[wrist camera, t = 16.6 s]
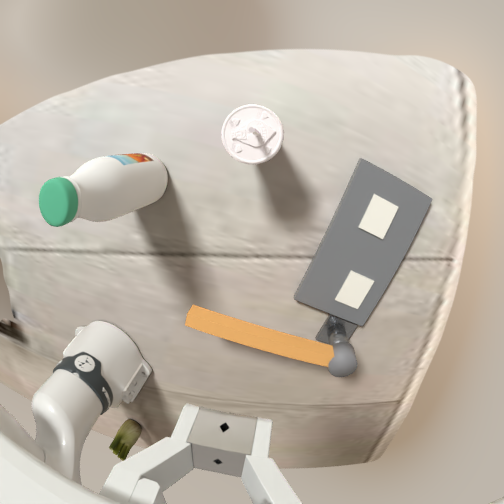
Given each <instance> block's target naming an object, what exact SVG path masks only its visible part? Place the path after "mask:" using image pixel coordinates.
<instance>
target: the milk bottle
mask: <svg viewBox="0 0 504 504" xmlns="http://www.w3.org/2000/svg"><path fill="white" fill-rule="evenodd" d="M167 181H168V177H167V171H166V168H165V166H164V164H163V163H162V161H161V160H160V159H159V158H158V157H156V156H154V155H152V154H148V153H137V154H122V155H111V156H104V157H98V158H95V159H92V160H90V161H88V162H86V163H85V164H83V165H82V166H81V167H80V168H79V169H78V170H77V171H76V172H75V173H74V174H73V175H71V176H70V177H68V176H62V177H57V178H53V179H50V180H48V181H47V182H45V183H44V185H43V186H42V188H41V191H40V195H39V207H40V211H41V214H42V216H43V218H44V219H45V221H46V222H47V223H48V224H50V225H51V226H55V227H59V226H62V225H65V224H67V223H69V222H72V221H74V220H75V219H76V218H83V219H86V220H89V221H95V222H103V221H108V220H112V219H115V218H118V217H120V216H123V215H125V214H128V213H130V212H133V211H135V210H137V209H140V208H142V207H145V206H147V205H149V204H152V203H154V202H156V201H157V200H158V199H160V198H161V196H162V195H163V194H164V192H165V190H166V187H167Z"/></svg>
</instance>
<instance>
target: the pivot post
mask: <svg viewBox="0 0 504 504" xmlns="http://www.w3.org/2000/svg"><path fill="white" fill-rule="evenodd" d="M356 327H357V324H355V323H353V322H350V321H347V320H345V319H342V318H340V317H337V316H335V315H332V314H330V315H329V316H328V318H327V319H326V321H325V323H324V324H323V326H322V328H321V329H320V331H319V332H318V334H317V336H316V337H315V338H316V340H319V341H322V342H324V343H327V344H329V345H333V344H335V343H337V342H347V343H349V342H348V339H349V338H350V336H351V335H352V333H353V332H354V330H355V329H356Z"/></svg>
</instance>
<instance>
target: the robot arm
mask: <svg viewBox="0 0 504 504" xmlns="http://www.w3.org/2000/svg"><path fill="white" fill-rule="evenodd" d="M75 334H76V337H75V338H74V339H73V340H72V342H71V343H70V344H69V345H68V346H67V348H66V349H65V350H64V352H63V355H64V358H63V359H62V361H60V362H59V363H58V364H57V366H56V367H55V368H54V370H53V374H52V375H51V376H50V377H49V378H48V379H47V380H46V381H45V383H44V384H43V385H42V386H41V387H40V388H39V389H38V390H37V391H36V393H35V394H34V396H33V399H32V412H33V416H34V419H35V422H36V439H35V440H33V438H32V437H31V436H30V435H29V434H28V433H27V432H26V431H25V429H24V428H23V427H22V426H21V425H20V424H19V422H18V421H17V420H16V419H15V418H14V417H13V416H12V415H11V414H10V413H9V412H8V411H7V410H6V409H5V408H4V407H3V406H2V405H1V404H0V504H167V503H166V501H165V498H164V496H163V494H162V492H163V491H165V490H166V489H167V488H169V487H170V486H172V485H173V484H174V483H176V482H177V481H178V480H180V479H181V478H182V477H184V476H185V475H186V474H187V473H189V472H190V471H191V470H193V468H198V469H202V470H208V471H213V472H218V473H222V474H227V475H232V476H237V477H241V479H242V481H243V484H244V486H245V488H246V490H247V492H248V494H249V496H250V498H251V500H252V502H253V504H302V503H301V501H300V500H299V498H298V497H297V495H296V494H295V492H294V491H293V489H292V488H291V486H290V485H289V483H288V482H287V480H286V479H285V477H284V476H283V474H282V473H281V471H280V469H279V468H278V466H277V465H276V463H275V461H274V460H273V459H272V458H268V457H269V449H270V440H271V432H272V423H273V422H272V419H264V418H257V417H253V416H246V415H240V414H234V413H226V412H221V411H217V410H212V409H208V408H204V407H200V406H196V405H192V404H188V403H186V405H185V406H184V408H183V410H182V412H181V415H180V417H179V419H178V422H177V424H176V426H175V429H174V431H173V433H172V436H171V438H170V437H165V438H164V439H162V440H160V441H158V442H157V443H155V444H153V445H151V446H150V447H148V448H146V449H144V450H142V451H141V452H139V453H137V454H135V455H133V456H131V457H129V458H128V459H126V460H124V461H122V462H120V463H118V464H116V465H115V466H114V468H113V469H112V471H111V473H110V475H109V477H108V479H107V480H106V482H105V484H104V486H103V488H102V490H101V492H100V493H99V494H98V493H96V492H94V491H92V490H90V489H88V488H86V487H84V486H82V484H81V479H80V457H81V451H82V448H83V444H84V442H85V439H86V437H87V436H88V434H89V432H90V430H91V429H92V427H93V425H94V424H95V422H96V420H97V419H98V417H99V416H100V415H102V414H103V413H104V412H106V411H107V410H108V409H109V407H111V408H117V407H118V406H119V405H120V403H121V402H122V400H123V401H124V402H126V403H127V404H129V403H130V402H133V401H134V399H135V398H136V396H137V395H138V393H139V391H140V390H141V388H142V387H143V385H144V383H145V382H146V380H147V378H148V377H149V375H150V374H151V372H152V369H151V367H150V366H149V364H148V363H147V362H146V361H145V360H144V359H143V358H142V356H141V354H140V352H139V350H138V348H137V346H136V345H135V343H134V342H133V341H132V340H131V339H130V337H129V336H128V335H126V334H125V333H124V332H123V331H122V330H120V329H119V328H117V327H116V326H114V325H112V324H110V323H107V322H103V321H94V322H92V323H90V324H89V325H87V326H85V327H78V328H77V329H76V330H75ZM489 504H504V497H502V498H500V499H498V500H496V501H494V502H492V503H489Z"/></svg>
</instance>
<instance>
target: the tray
mask: <svg viewBox="0 0 504 504" xmlns="http://www.w3.org/2000/svg"><path fill="white" fill-rule="evenodd" d="M431 201H432V198H430V197H429V196H427V195H425V194H424V193H422V192H421V191H419V190H417V189H416V188H414V187H412V186H411V185H409V184H407V183H406V182H404V181H402V180H400V179H399V178H397V177H395V176H393V175H392V174H390V173H388V172H386V171H384V170H383V169H381V168H379V167H377V166H375V165H373V164H371V163H370V162H368V161H366V160H364V159H362V158H360V159H359V161H358V163H357V166H356V168H355V170H354V172H353V175H352V177H351V179H350V181H349V184H348V186H347V188H346V190H345V193H344V195H343V197H342V199H341V201H340V203H339V206H338V208H337V210H336V212H335V214H334V216H333V218H332V221H331V223H330V225H329V227H328V229H327V231H326V233H325V235H324V237H323V239H322V241H321V243H320V245H319V247H318V249H317V252H316V254H315V256H314V258H313V260H312V262H311V264H310V266H309V267H308V269H307V271H306V273H305V275H304V277H303V279H302V281H301V283H300V285H299V287H298V289H297V291H296V293H295V295H294V300H297V301H299V302H302V303H304V304H307V305H309V306H312V307H314V308H317V309H319V310H322V311H324V312H327V313H330V314H332V315H335V316H337V317H340V318H342V319H345V320H347V321H350V322H353V323H355V324H358V325H360V326H363V325H364V323H365V322H366V320H367V318H368V317H369V315H370V314H371V312H372V311H373V309H374V307H375V306H376V304H377V303H378V301H379V299H380V298H381V296H382V294H383V293H384V291H385V289H386V288H387V286H388V284H389V283H390V281H391V279H392V278H393V276H394V274H395V272H396V270H397V269H398V267H399V265H400V263H401V261H402V260H403V258H404V256H405V254H406V252H407V250H408V248H409V246H410V245H411V243H412V241H413V239H414V237H415V235H416V233H417V231H418V229H419V227H420V225H421V223H422V220H423V218H424V216H425V214H426V212H427V210H428V208H429V205H430V203H431Z"/></svg>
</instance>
